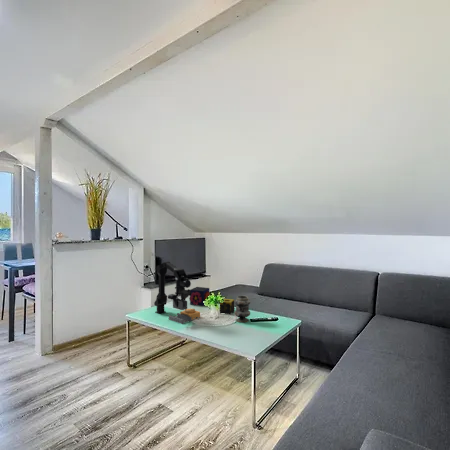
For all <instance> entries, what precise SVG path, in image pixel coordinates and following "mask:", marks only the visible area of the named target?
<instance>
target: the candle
mask: <svg viewBox="0 0 450 450" xmlns="http://www.w3.org/2000/svg"><path fill="white" fill-rule="evenodd" d="M223 299H224V302H223V303H220V302H219V314H221V313H225V314H224V315H232V314H233V313H234V312H235V310H236V307H235V299H232V298H223Z"/></svg>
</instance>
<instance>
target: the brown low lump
mask: <svg viewBox="0 0 450 450" xmlns="http://www.w3.org/2000/svg"><path fill="white" fill-rule="evenodd" d="M179 313H180V314H183V315H186V316H190V317H192V320H195V319H197V318H196V317H198V318H200V317H201V312H200V311H199V310H196V309H195V308H191V307H190V308H187V309H185V310H180V311H179ZM199 316H200V317H199ZM194 318H195V319H194Z"/></svg>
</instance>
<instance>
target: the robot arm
mask: <svg viewBox="0 0 450 450" xmlns="http://www.w3.org/2000/svg"><path fill="white" fill-rule="evenodd" d="M155 270H156V273H157V275H158V293H157V295H156V298H155V300H154V302H153V304H154V306H155V307H156V311H154V312H155V313H156V314H164V313H166V310H165V305H167V301H168V300H171V301H172V302H173V301H174V302H175V305H176V307H178V300H179V299H182V300H186V299H187V298H188V297H190V295H191V292H190V290H191V289H187V288H190V287H191V285H192V283H191V280H190V279H189V278H188V276H187V274H186V271H185V269H184V268H182V267H178V266H176V265H174V264H173V263H171V262H170V261H164V262H162V263H160V264H159V265H156V269H155ZM168 270H169V271H170V272H172V273H173V276H174V280H175V287H174V289H175V292H174V293H169V294H168V295H167V293H165V292H166V290H165V289H166V284H165V283H166V275H167V272H168ZM179 297H180V298H179Z"/></svg>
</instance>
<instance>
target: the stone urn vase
mask: <svg viewBox="0 0 450 450" xmlns="http://www.w3.org/2000/svg"><path fill="white" fill-rule="evenodd" d="M250 304H251V300H250V299H249V296H247V295H237V296H236V299H234V305H235V309H234V310H235V311H234V312H233V313H234V315H235V316H236V317H238V318H236V319H235V321H236V322H237V323H248V322H249V321H250V319H249V318H248V317H249V316H250V315H251V311H250V309H249V307H250V306H249V305H250Z"/></svg>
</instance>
